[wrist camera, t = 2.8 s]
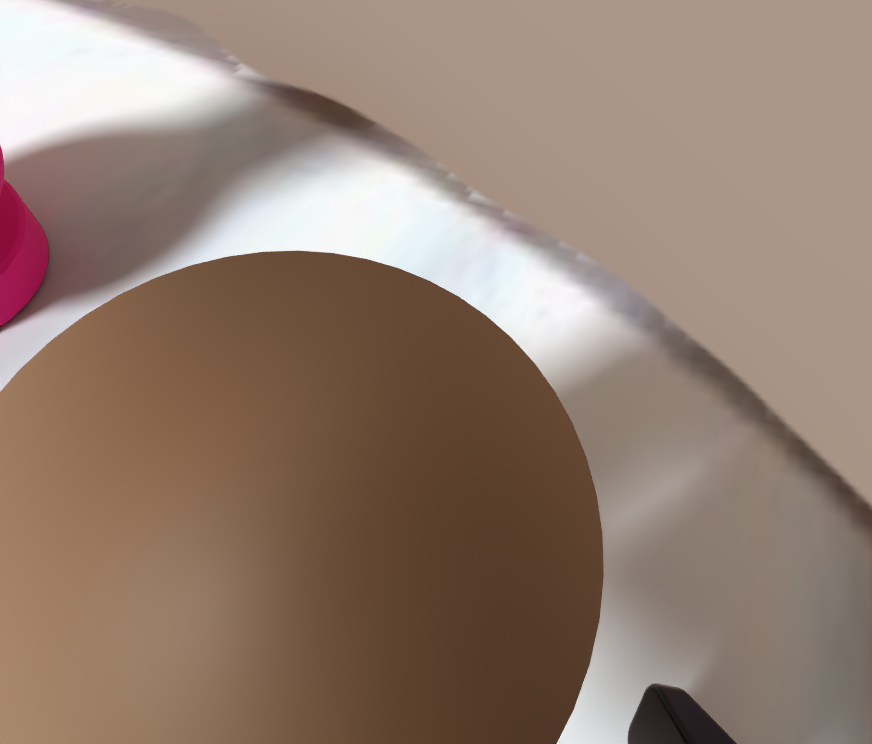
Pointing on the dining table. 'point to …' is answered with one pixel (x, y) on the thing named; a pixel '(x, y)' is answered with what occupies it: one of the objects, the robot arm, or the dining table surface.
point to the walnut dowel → (291, 519)
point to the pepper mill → (18, 251)
